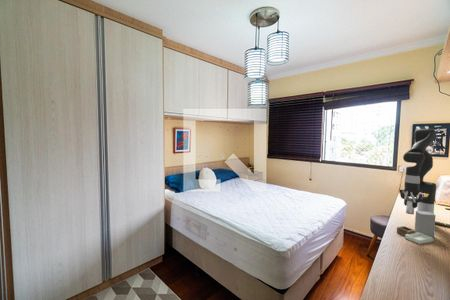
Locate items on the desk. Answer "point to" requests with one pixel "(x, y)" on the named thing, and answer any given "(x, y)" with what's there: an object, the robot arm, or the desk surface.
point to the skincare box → (425, 223)
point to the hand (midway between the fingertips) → (410, 206)
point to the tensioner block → (405, 230)
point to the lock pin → (409, 206)
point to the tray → (419, 238)
